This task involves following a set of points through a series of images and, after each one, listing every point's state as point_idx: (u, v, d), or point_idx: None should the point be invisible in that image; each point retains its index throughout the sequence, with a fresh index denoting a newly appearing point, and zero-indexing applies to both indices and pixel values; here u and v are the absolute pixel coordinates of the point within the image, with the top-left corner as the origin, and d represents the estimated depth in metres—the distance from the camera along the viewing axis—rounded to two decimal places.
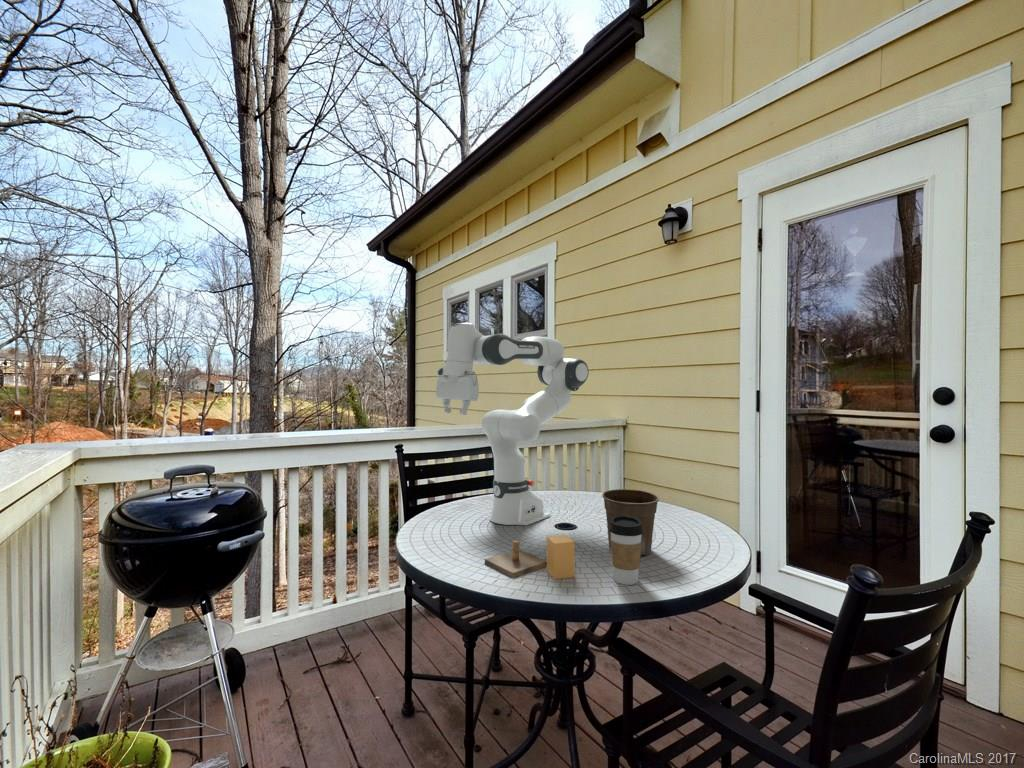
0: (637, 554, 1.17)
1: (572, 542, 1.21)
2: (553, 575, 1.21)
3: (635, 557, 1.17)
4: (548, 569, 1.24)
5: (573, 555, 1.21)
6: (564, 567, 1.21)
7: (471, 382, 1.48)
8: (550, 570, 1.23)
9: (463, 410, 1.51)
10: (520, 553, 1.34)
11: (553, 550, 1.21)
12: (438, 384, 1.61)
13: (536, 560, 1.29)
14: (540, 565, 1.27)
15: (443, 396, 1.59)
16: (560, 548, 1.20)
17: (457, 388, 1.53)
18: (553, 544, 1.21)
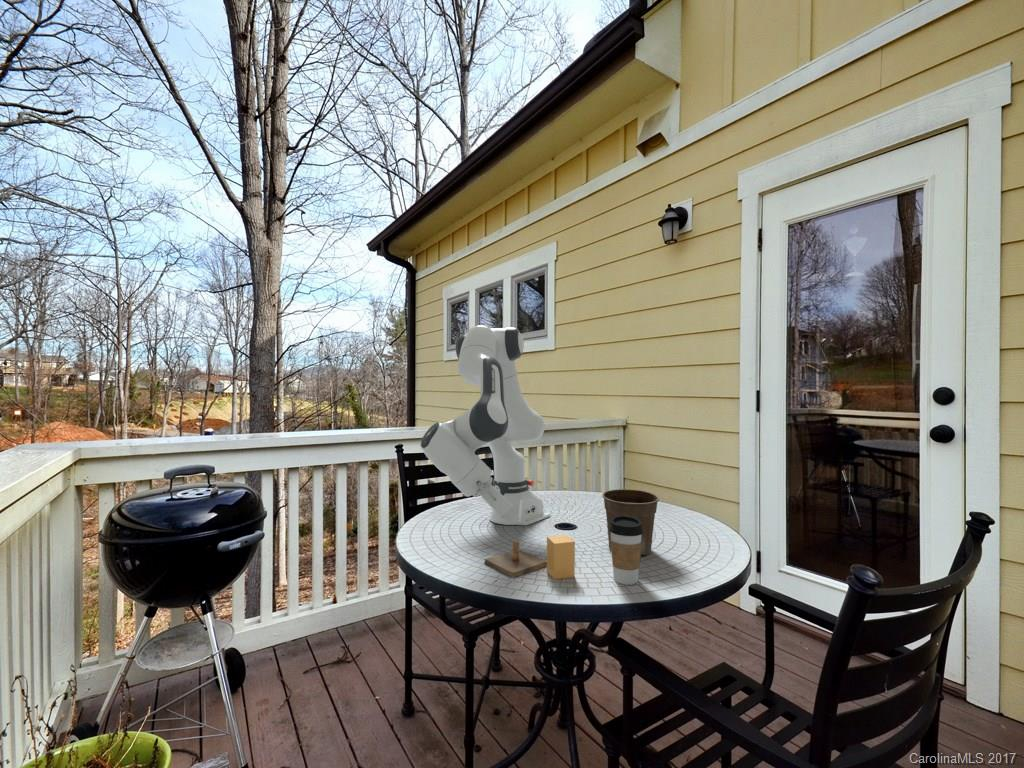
0: (637, 554, 1.17)
1: (572, 542, 1.21)
2: (553, 575, 1.21)
3: (635, 557, 1.17)
4: (548, 569, 1.24)
5: (573, 555, 1.21)
6: (564, 567, 1.21)
7: (489, 501, 1.08)
8: (550, 570, 1.23)
9: (512, 519, 1.14)
10: (520, 553, 1.34)
11: (553, 550, 1.21)
12: None
13: (536, 560, 1.29)
14: (540, 565, 1.27)
15: None
16: (560, 548, 1.20)
17: None
18: (553, 544, 1.21)
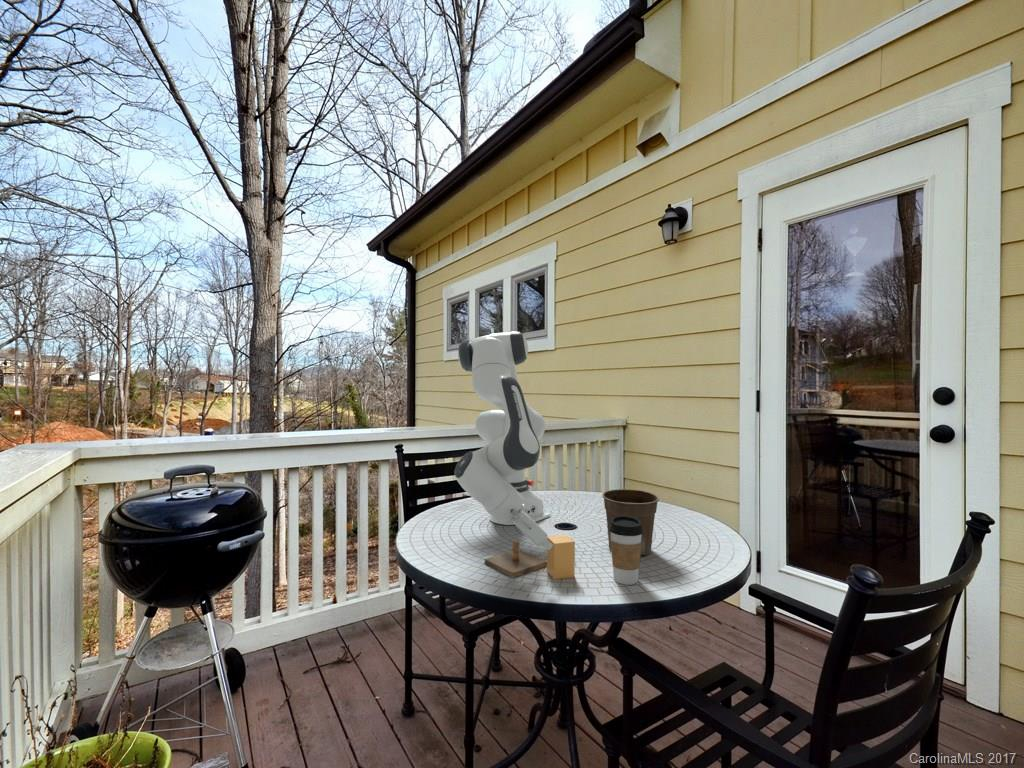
0: (637, 554, 1.17)
1: (572, 542, 1.21)
2: (553, 575, 1.21)
3: (635, 557, 1.17)
4: (548, 569, 1.24)
5: (573, 555, 1.21)
6: (564, 567, 1.21)
7: (524, 530, 1.11)
8: (550, 570, 1.23)
9: (545, 546, 1.17)
10: (520, 553, 1.34)
11: (553, 550, 1.21)
12: None
13: (536, 560, 1.29)
14: (540, 565, 1.27)
15: None
16: (560, 548, 1.20)
17: None
18: (553, 544, 1.21)
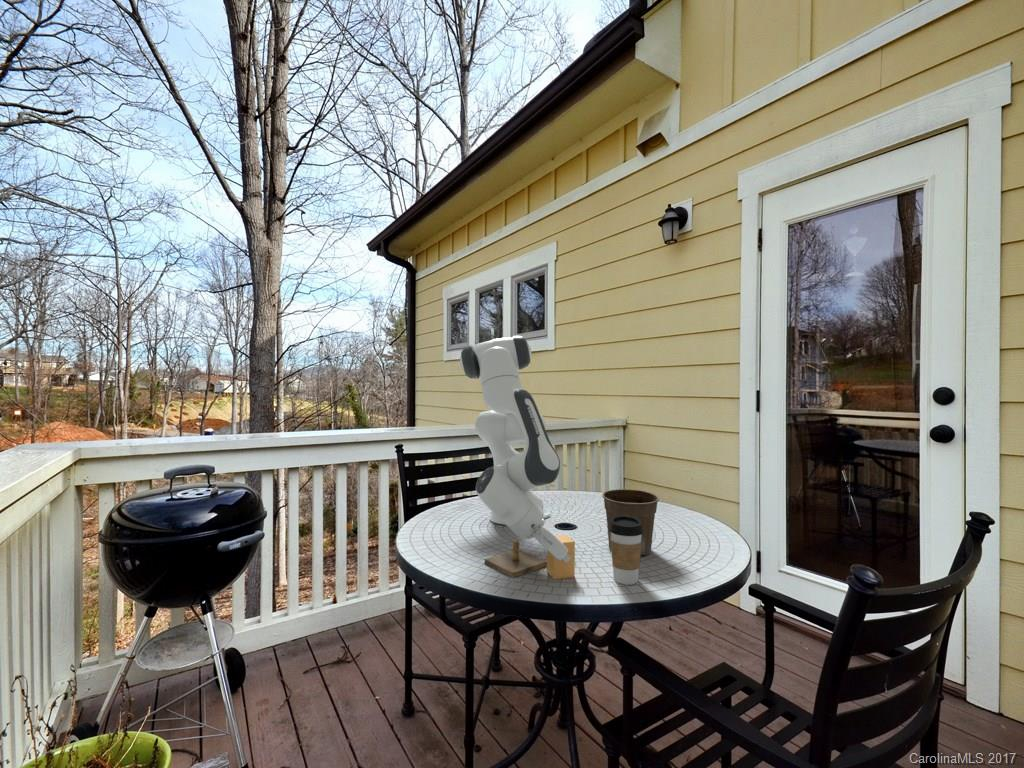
0: (637, 554, 1.17)
1: (572, 542, 1.21)
2: (553, 575, 1.21)
3: (635, 557, 1.17)
4: (548, 569, 1.24)
5: (573, 555, 1.21)
6: (564, 567, 1.21)
7: (546, 545, 1.12)
8: (550, 570, 1.23)
9: (564, 558, 1.19)
10: (520, 553, 1.34)
11: None
12: None
13: (536, 560, 1.29)
14: (540, 565, 1.27)
15: None
16: None
17: None
18: None
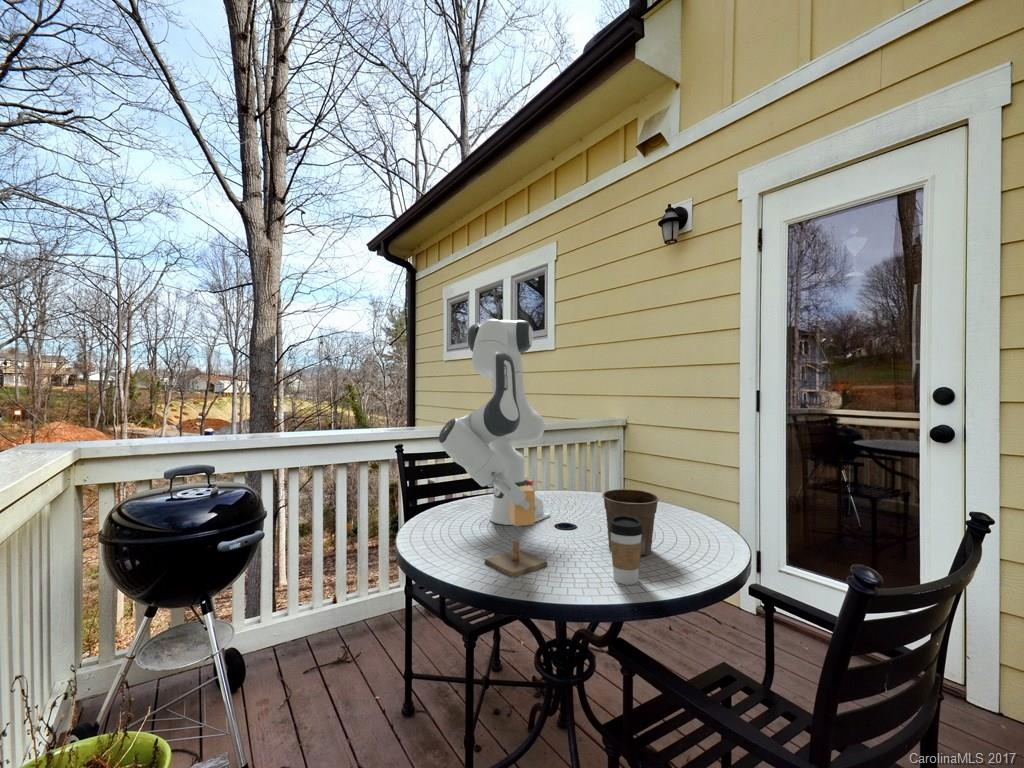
0: (637, 554, 1.17)
1: (532, 491, 1.27)
2: (514, 522, 1.26)
3: (635, 557, 1.17)
4: (510, 518, 1.30)
5: (533, 503, 1.27)
6: (524, 514, 1.26)
7: (504, 490, 1.18)
8: (512, 518, 1.28)
9: (523, 505, 1.25)
10: (520, 553, 1.34)
11: None
12: None
13: (536, 560, 1.29)
14: (540, 565, 1.27)
15: None
16: None
17: (500, 491, 1.24)
18: None
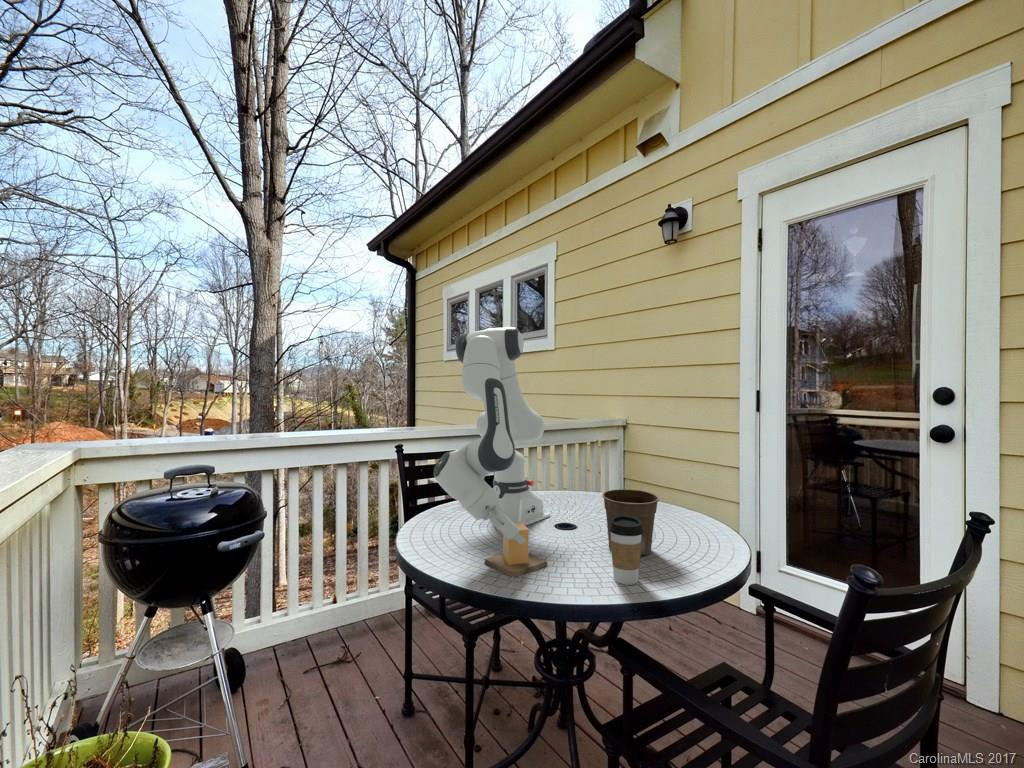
0: (637, 554, 1.17)
1: (526, 530, 1.28)
2: (507, 561, 1.27)
3: (635, 557, 1.17)
4: (504, 556, 1.30)
5: (527, 542, 1.28)
6: (518, 553, 1.27)
7: (498, 525, 1.18)
8: (506, 556, 1.29)
9: (519, 540, 1.24)
10: None
11: None
12: None
13: (536, 560, 1.29)
14: (540, 565, 1.27)
15: None
16: None
17: None
18: None
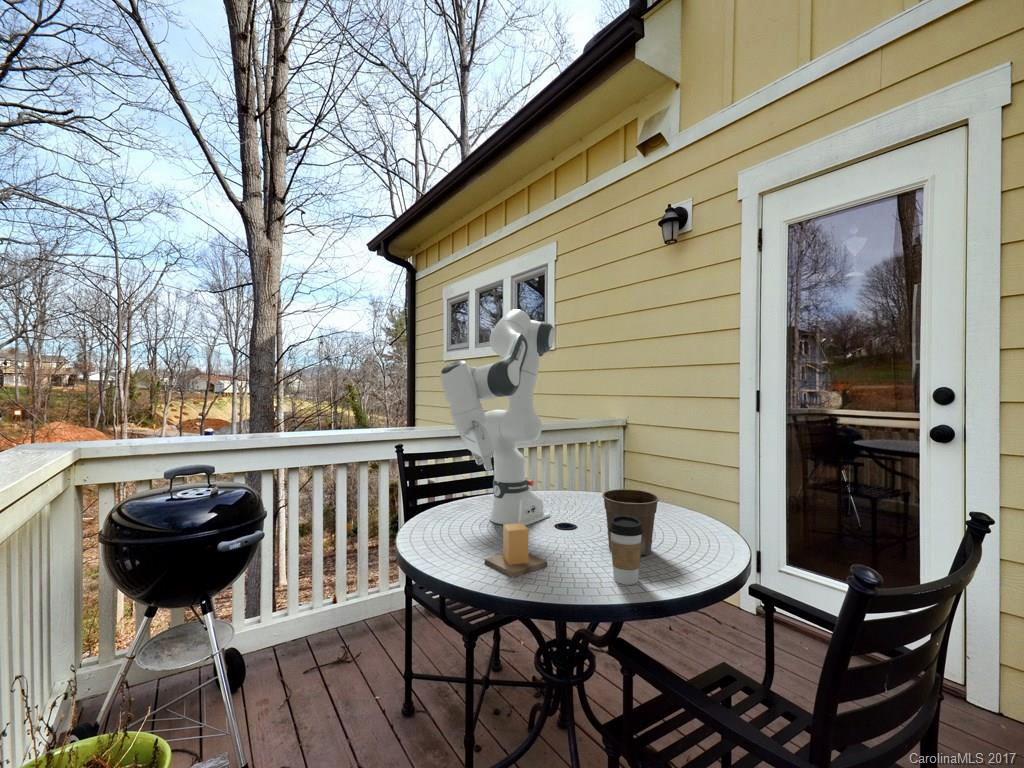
0: (637, 554, 1.17)
1: (526, 530, 1.28)
2: (507, 561, 1.27)
3: (635, 557, 1.17)
4: (504, 556, 1.30)
5: (527, 542, 1.28)
6: (518, 553, 1.27)
7: (478, 437, 1.23)
8: (506, 556, 1.29)
9: (486, 466, 1.28)
10: None
11: (507, 537, 1.27)
12: (460, 435, 1.39)
13: (536, 560, 1.29)
14: (540, 565, 1.27)
15: (468, 448, 1.37)
16: (514, 535, 1.27)
17: (472, 442, 1.29)
18: (507, 531, 1.27)
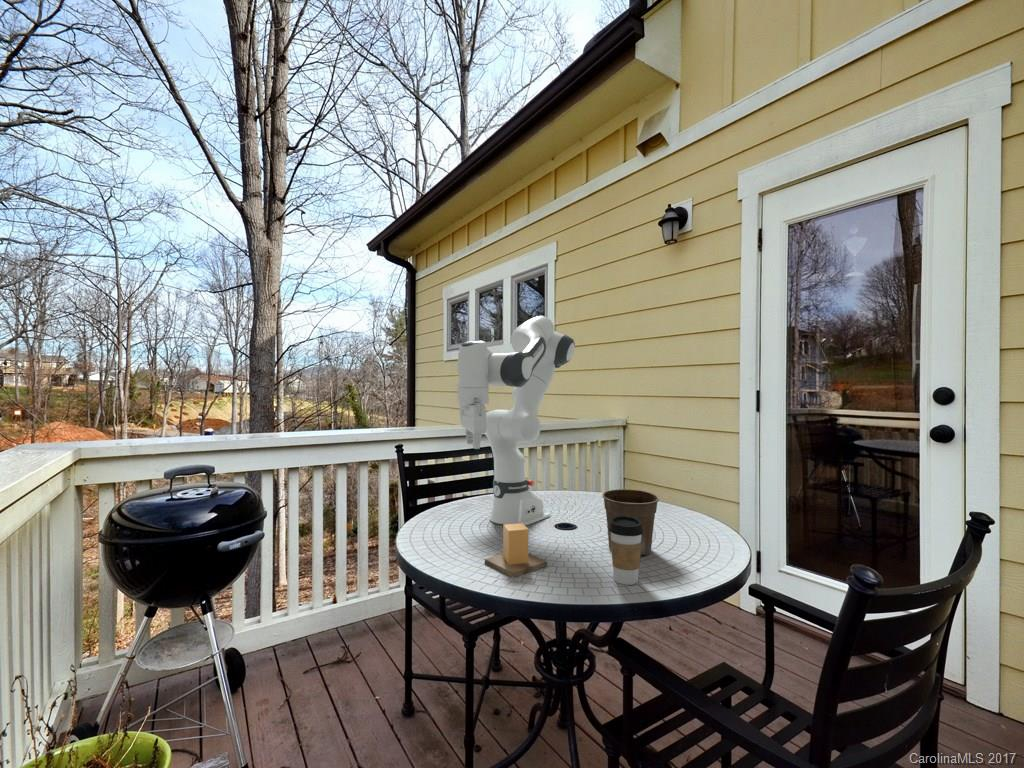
0: (637, 554, 1.17)
1: (526, 530, 1.28)
2: (507, 561, 1.27)
3: (635, 557, 1.17)
4: (504, 556, 1.30)
5: (527, 542, 1.28)
6: (518, 553, 1.27)
7: (475, 413, 1.26)
8: (506, 556, 1.29)
9: (475, 444, 1.31)
10: None
11: (507, 537, 1.27)
12: (460, 411, 1.43)
13: (536, 560, 1.29)
14: (540, 565, 1.27)
15: (463, 425, 1.40)
16: (514, 535, 1.27)
17: (468, 418, 1.33)
18: (507, 531, 1.27)
